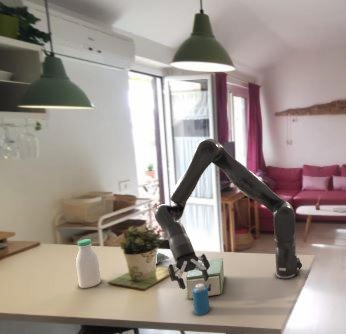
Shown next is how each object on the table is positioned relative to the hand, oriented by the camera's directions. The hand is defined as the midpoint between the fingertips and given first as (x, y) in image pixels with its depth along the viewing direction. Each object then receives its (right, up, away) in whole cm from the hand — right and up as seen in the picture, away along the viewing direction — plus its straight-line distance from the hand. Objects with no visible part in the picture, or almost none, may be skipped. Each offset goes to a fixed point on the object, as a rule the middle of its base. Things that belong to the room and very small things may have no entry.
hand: (195, 284), depth 127 cm
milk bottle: (-55, -7, +20) cm, 59 cm away
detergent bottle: (+3, -10, -1) cm, 10 cm away
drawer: (-1, -7, +12) cm, 13 cm away
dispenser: (-2, -7, +16) cm, 18 cm away
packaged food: (-38, -3, +41) cm, 56 cm away
